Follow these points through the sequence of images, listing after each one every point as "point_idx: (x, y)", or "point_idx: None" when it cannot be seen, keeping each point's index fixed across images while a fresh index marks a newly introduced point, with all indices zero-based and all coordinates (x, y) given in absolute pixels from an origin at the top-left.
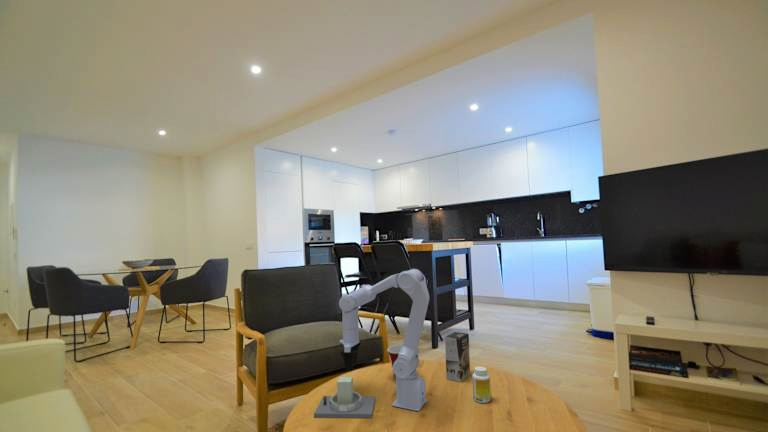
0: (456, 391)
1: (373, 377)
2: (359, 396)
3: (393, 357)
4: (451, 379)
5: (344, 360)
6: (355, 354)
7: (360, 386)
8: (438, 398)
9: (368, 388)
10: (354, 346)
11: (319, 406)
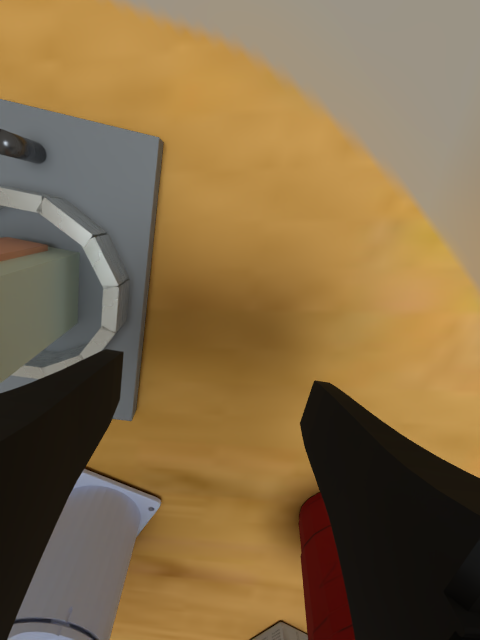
0: (179, 628)
1: (383, 412)
2: (45, 367)
3: (343, 621)
4: (266, 632)
5: (2, 401)
6: (329, 489)
7: (296, 352)
8: (133, 587)
9: (264, 386)
10: (385, 600)
11: (3, 112)
